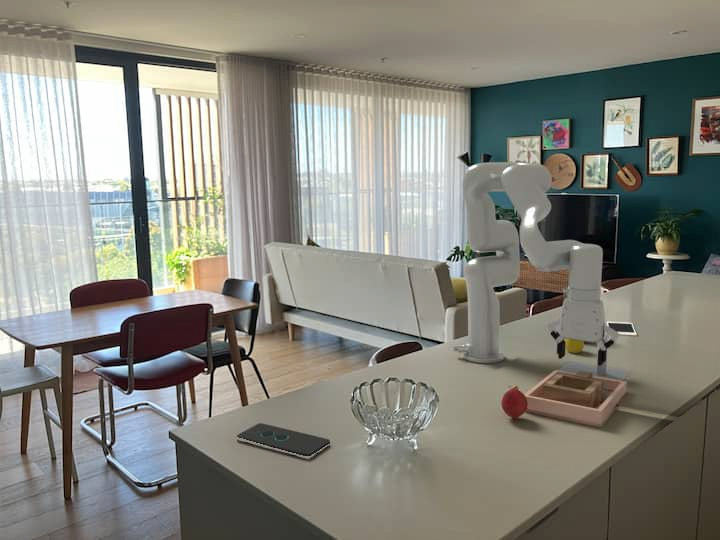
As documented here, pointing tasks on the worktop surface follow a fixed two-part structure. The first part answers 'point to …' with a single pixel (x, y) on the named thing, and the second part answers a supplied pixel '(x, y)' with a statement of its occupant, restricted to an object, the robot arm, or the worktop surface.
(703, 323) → the worktop surface
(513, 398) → the onion
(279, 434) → the slab with cyan rings
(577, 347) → the lemon
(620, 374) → the stand
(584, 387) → the wooden bar frame
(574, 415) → the tray
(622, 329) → the cell phone
